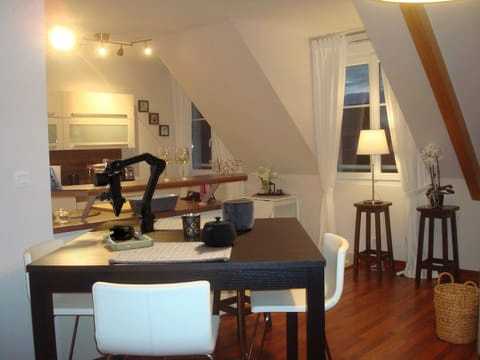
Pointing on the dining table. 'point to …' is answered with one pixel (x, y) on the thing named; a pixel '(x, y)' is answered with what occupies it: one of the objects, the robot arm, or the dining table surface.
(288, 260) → the dining table surface
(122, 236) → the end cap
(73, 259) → the dining table surface
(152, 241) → the tray
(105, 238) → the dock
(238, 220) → the planter
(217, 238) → the teapot
